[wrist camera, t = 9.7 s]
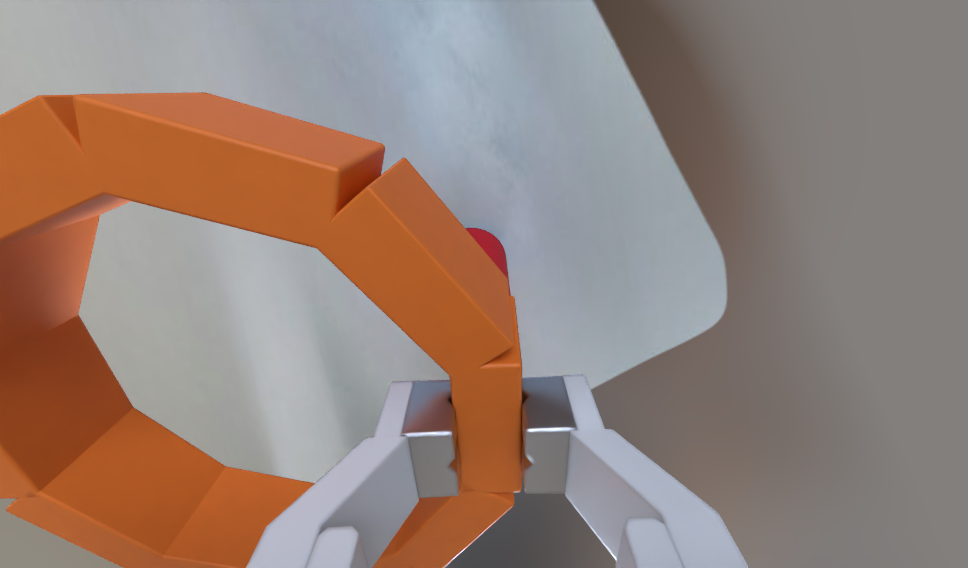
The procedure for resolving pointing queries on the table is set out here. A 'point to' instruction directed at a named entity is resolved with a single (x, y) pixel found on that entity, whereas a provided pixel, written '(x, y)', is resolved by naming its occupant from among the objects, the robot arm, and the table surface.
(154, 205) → the ring
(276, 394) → the table surface
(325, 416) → the table surface
